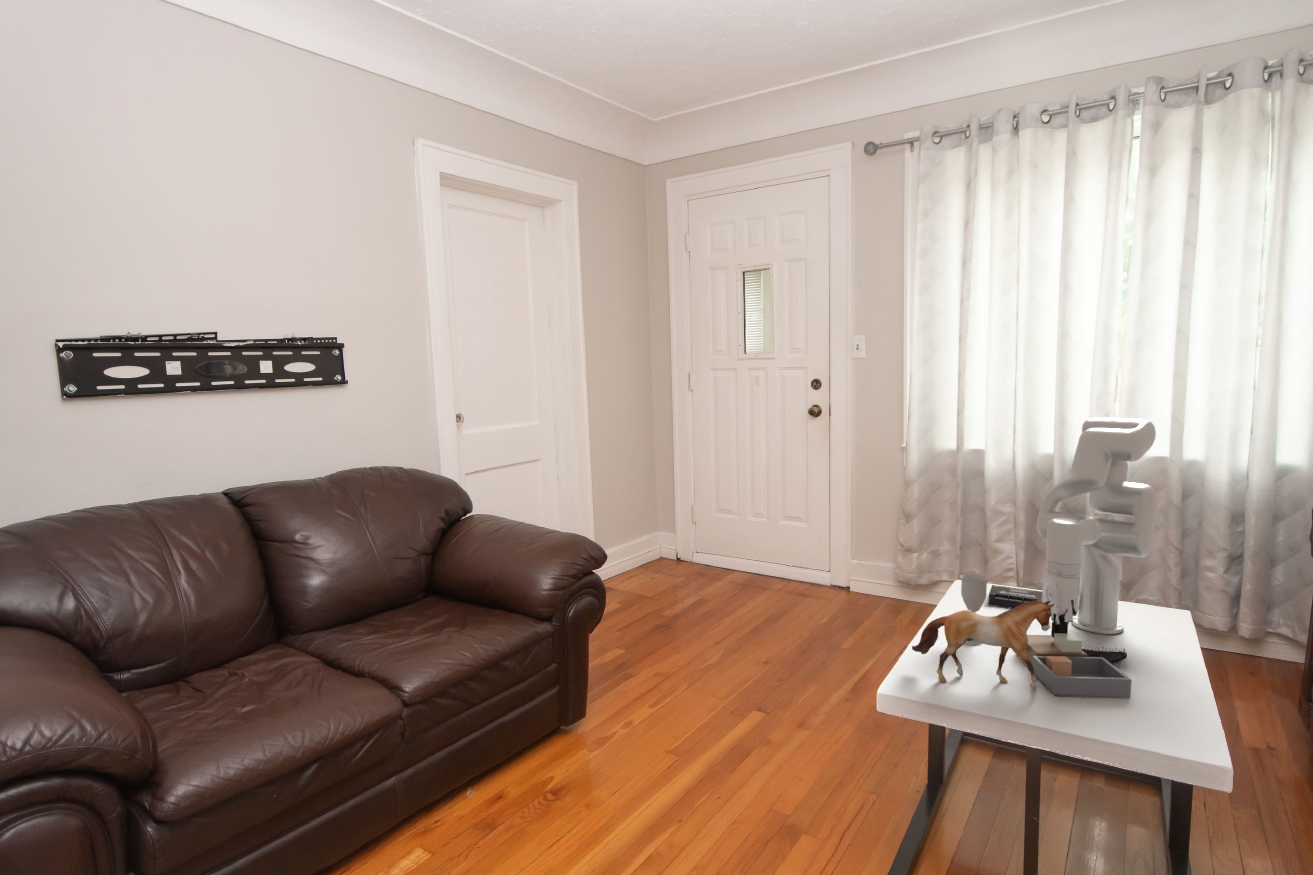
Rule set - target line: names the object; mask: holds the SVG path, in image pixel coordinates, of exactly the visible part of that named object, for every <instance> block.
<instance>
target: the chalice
mask: <svg viewBox="0 0 1313 875" xmlns="http://www.w3.org/2000/svg"><path fill="white" fill-rule="evenodd" d="M959 578H960V580H961V586H960V587H961V588H960V589H961V590H960V594H961V598H962V601H963V602H964V605H965V607H966V610H968V611H971V612H974V613H976V612H979V611H980V609H981V608H982V607H983V604H984V603H985V600H986V598H987V588H988V586H987V585H988V582H989V581H990V579H989V577H986V576H984V575H980V574H973V573H969V574H960V575H959ZM964 644H966V645H969V646H981V645H983V644H982V643H979V642H976V641H974V640H972V641H966V642H965V643H964Z"/></svg>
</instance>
